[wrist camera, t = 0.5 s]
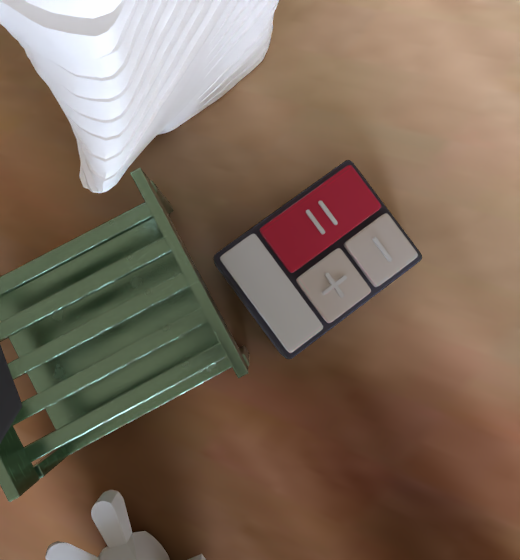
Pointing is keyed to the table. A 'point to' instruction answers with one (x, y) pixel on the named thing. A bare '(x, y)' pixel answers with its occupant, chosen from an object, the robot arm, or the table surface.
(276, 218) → the calculator
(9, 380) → the robot arm
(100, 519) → the bunny figurine
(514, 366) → the table surface
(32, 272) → the rack
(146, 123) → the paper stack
